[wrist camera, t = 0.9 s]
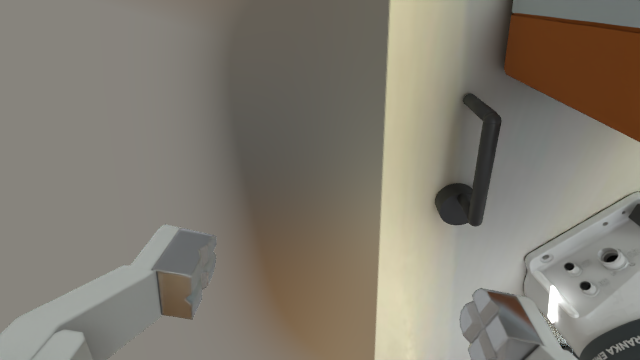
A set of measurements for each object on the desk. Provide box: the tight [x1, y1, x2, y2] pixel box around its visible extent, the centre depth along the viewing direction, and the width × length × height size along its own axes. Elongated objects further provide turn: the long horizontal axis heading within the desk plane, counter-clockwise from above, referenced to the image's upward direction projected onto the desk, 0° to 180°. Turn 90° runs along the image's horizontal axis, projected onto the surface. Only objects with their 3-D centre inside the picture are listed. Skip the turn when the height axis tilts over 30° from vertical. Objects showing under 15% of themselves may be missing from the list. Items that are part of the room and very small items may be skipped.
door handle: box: [435, 94, 501, 226], centre depth 33 cm, size 16×5×7 cm, turn 7°
